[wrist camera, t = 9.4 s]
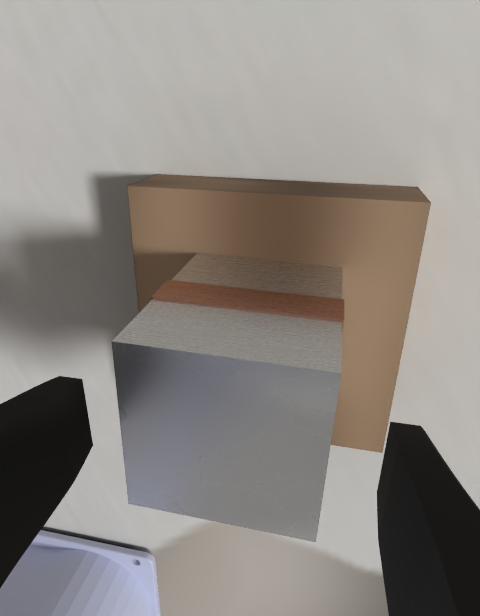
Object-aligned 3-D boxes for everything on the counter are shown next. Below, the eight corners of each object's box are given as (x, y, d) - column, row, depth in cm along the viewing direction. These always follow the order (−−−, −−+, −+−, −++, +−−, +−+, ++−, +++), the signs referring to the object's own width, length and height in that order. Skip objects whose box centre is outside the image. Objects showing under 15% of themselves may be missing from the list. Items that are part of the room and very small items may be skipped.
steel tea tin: (197, 373, 16) (126, 504, 11) (196, 251, 14) (109, 338, 9) (326, 393, 16) (317, 543, 10) (344, 265, 14) (344, 371, 8)
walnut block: (173, 375, 20) (148, 416, 18) (162, 172, 17) (127, 185, 14) (376, 402, 19) (382, 452, 16) (415, 184, 15) (430, 202, 12)
